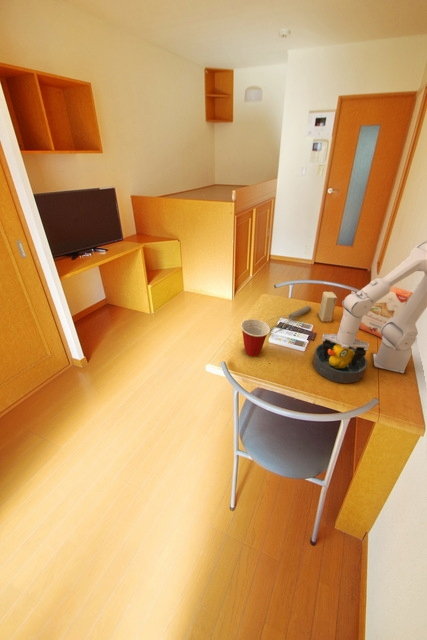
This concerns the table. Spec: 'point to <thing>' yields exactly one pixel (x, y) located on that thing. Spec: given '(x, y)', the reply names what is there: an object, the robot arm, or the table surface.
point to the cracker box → (385, 310)
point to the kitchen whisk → (293, 315)
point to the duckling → (340, 356)
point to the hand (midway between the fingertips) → (338, 360)
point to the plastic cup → (254, 335)
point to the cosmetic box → (327, 306)
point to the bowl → (339, 375)
